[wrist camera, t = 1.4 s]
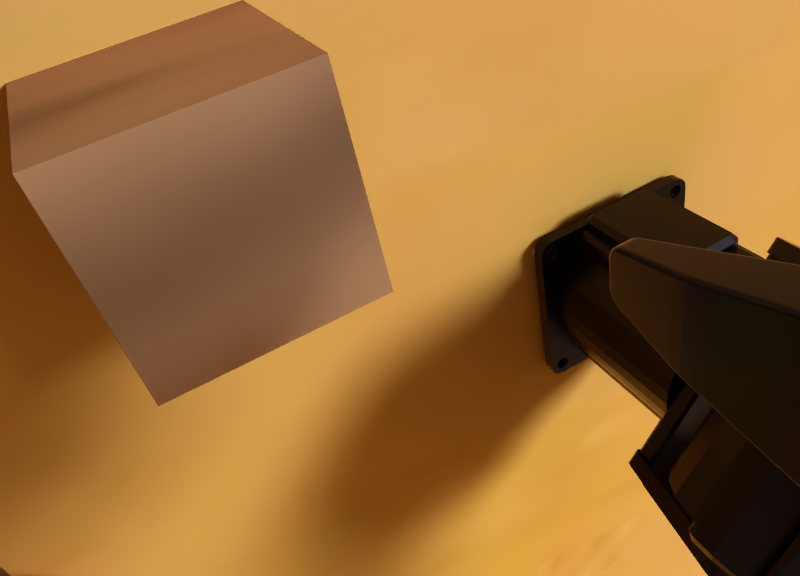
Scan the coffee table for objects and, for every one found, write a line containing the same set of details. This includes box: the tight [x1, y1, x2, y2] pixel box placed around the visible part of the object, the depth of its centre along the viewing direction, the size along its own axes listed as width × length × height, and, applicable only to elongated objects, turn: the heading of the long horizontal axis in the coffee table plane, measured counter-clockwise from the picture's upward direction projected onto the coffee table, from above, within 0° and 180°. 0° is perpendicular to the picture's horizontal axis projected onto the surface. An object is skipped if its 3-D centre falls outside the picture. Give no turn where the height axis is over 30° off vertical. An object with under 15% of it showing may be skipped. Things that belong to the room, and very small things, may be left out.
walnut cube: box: [6, 0, 393, 406], centre depth 15 cm, size 6×6×6 cm
